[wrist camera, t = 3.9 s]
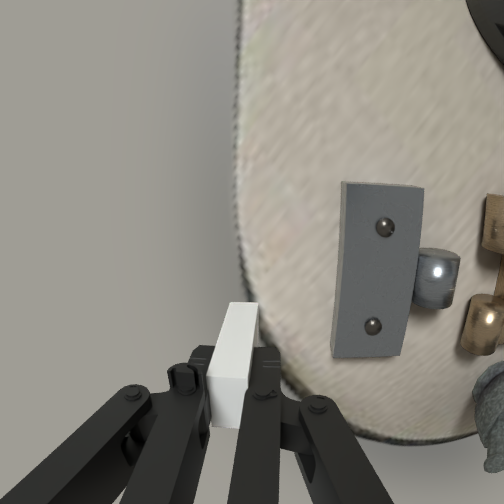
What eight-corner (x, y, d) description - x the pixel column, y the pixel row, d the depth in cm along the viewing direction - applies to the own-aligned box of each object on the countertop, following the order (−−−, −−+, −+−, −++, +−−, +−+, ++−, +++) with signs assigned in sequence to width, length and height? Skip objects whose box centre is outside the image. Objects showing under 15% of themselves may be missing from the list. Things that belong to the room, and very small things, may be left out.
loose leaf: (340, 181, 24) (350, 184, 20) (452, 189, 23) (477, 195, 19) (329, 342, 28) (334, 368, 24) (429, 338, 26) (444, 361, 23)
